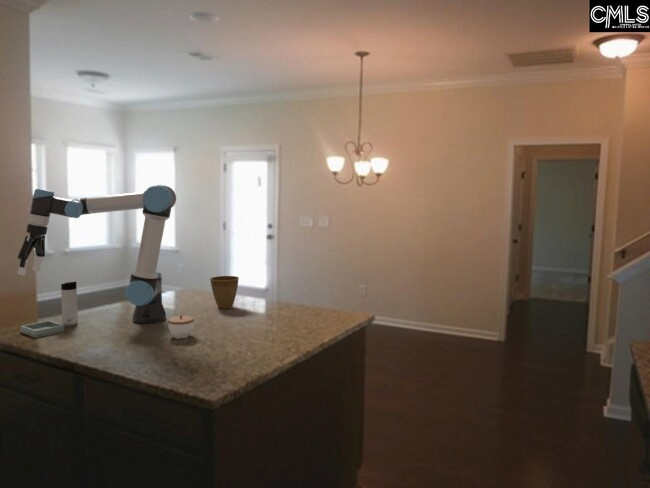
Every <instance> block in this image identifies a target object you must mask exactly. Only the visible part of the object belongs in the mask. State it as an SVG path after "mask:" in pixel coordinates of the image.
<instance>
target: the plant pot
mask: <svg viewBox="0 0 650 488" xmlns="http://www.w3.org/2000/svg"><path fill="white" fill-rule="evenodd" d="M209 280H210V286H211V290H212V295H213V298H214V300H215V303H216V305H217V308H218V309H224V310H226V309H231V308H232V307H233V306H234V302H235V300H236V296H237V291H238V286H239V276H233V275H220V276H219V275H218V276H213V277H211V278H210V279H209Z"/></svg>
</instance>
